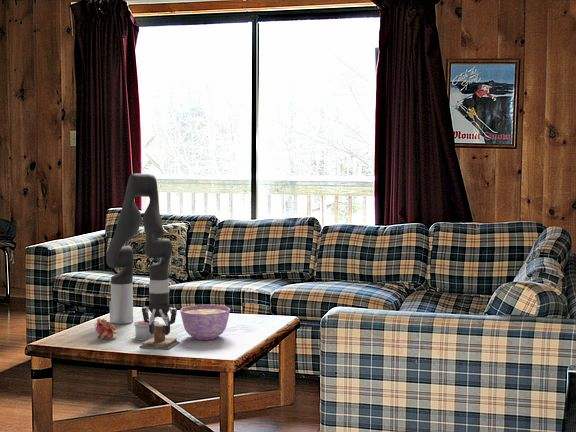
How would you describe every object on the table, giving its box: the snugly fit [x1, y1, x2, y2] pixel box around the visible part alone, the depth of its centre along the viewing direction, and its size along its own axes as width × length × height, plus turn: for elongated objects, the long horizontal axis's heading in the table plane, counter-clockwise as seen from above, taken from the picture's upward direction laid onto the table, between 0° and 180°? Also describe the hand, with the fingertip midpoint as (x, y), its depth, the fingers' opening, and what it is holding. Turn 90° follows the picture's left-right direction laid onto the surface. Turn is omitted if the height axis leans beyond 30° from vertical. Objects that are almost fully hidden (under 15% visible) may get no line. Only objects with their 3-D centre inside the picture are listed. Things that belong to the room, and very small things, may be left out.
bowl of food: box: [179, 304, 231, 341], centre depth 335 cm, size 20×20×12 cm
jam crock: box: [133, 320, 160, 341], centre depth 336 cm, size 10×10×6 cm
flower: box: [94, 318, 119, 340], centre depth 334 cm, size 10×9×8 cm
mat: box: [139, 340, 180, 350], centre depth 323 cm, size 12×11×1 cm
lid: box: [141, 323, 178, 347], centre depth 323 cm, size 10×10×7 cm
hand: (159, 334), depth 323 cm, fingers open, 5 cm apart
